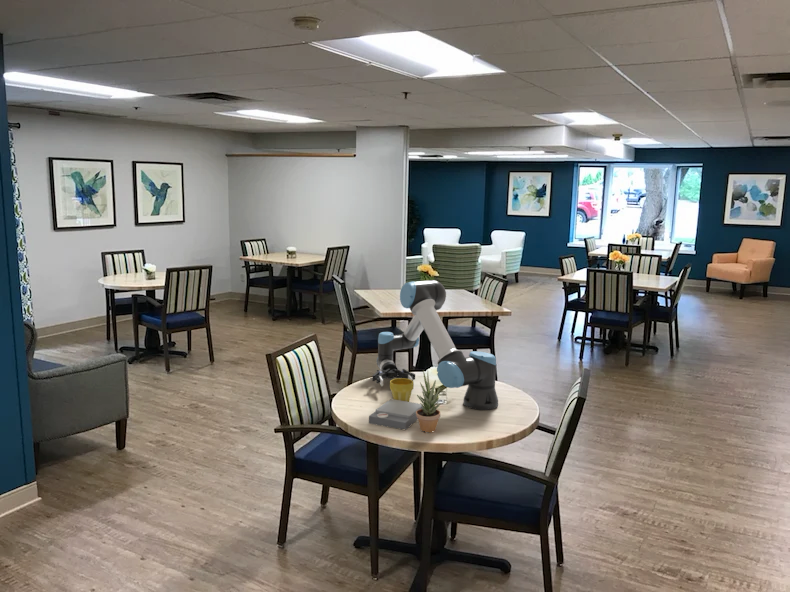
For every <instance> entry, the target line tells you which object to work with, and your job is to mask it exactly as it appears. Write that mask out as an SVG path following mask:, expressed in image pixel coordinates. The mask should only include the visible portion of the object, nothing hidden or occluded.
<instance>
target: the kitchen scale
mask: <svg viewBox="0 0 790 592" xmlns="http://www.w3.org/2000/svg"><path fill="white" fill-rule="evenodd" d="M421 404H422V403H421ZM421 404H420V403H418V402H411V401H409V402H407V401H401V400H395V399H393V398H389V400H387V401H386V402H384V403H383V404H381V405H380V406H379V407H377V408H376V409H375V411H373V412H372V413H371V414H369V415H368V424H370V425H371V424H372V425H376V424H377V426H381V425H383V426H382V427H387V426H388V427H387V428H392V427H394V428H393V429H397V428H400V429H399V430H402V429H405V430H404V431H406V430H408V428H409V426H410V425H411V424H412V425H414V423H416V421H418V420H417V419H418V418H417V416H416V411H417V410H419V409H422V408H424V407H423V406H424V405H423V406H422V405H421ZM412 425H411V426H412ZM411 426H410V427H411Z"/></svg>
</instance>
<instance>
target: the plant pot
mask: <svg viewBox="0 0 790 592" xmlns="http://www.w3.org/2000/svg"><path fill="white" fill-rule="evenodd" d="M389 389H390V391H391V394H392V399H395V400H401V401H407V402H410V400H411V399H410V398H411V395H412V391H413V390H414V380H413V381H412V380H410V379H406V378H396V377H395V378H391V380H390V381H389Z"/></svg>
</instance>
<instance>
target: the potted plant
mask: <svg viewBox="0 0 790 592" xmlns="http://www.w3.org/2000/svg"><path fill="white" fill-rule="evenodd" d="M422 373H423V379H424V380H423V381H424V385H425V387H424V385H423V384H422V383H421V382H420V381H419V383H420V387H421V389H422V391H421V393H422V396H423V397H422V396H421V395H418V394H416V396H417V398H418V399H419V400H420V403H419V404H421V405H422V406H423V407H424V408H422V409H419V410H417V411H416V416H417V418H418V420H417V421H418V424H419V430H420V431H421V430H422V431H425V432H424V433H426V432H431V433H433V432H432V431H434V432H436V429H437V426H438V423H439V419H440V417H441V411H440V410H439V409H438V408H439V407H440V406H441V404H442V403H439V401H438V400H439V399H440V397H439V392H440V390H441V388H440V387H439V388H438V390H437V391H436V392H435V389H436V388H435V387H436V382H437V380H436V379H434V381H433V384H432V387H431V385H430V379H429V378H430V377H429V376H430V375H429V370H427V376H426V375H425V370H422ZM434 392H435V393H434ZM438 403H439V404H438ZM422 431H421V432H422Z"/></svg>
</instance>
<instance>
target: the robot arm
mask: <svg viewBox="0 0 790 592" xmlns="http://www.w3.org/2000/svg"><path fill="white" fill-rule="evenodd" d="M446 298H447V292H446V289H445V286H444V285H443V284H442V283H441V282H439V281H437V280H435V279H429V280H428V279H427V280H418V281H413V280H412V281H409V282H405V283H403V285H402V287H401V288H400V293H399V300H400V304H401V306H402V307H403V308H405V309H410V312H411V313H412V315H413V317H412V318H411V320H410V321H409V323H408V325H407V326H406V328H405V329H404V330H403V332H402V333H401V334H400V333H399V334H395V335H394V333H393V332H391V331H382V332H380V333H378V338H377V347H378V349H377V358H376V365H377V367H378V368H379V370H378V369H377V370H376V371H375V373H374V374H372V375H371V376H372V377H371V379H372V382H375V381H376V383H377V384H380V386H381V387H384V379H388V380H389V379H391V380H392V379H396V378H406V379H410V380H412V381H413V382H414V380H416V373H413V372H412V371H408V370H406V369H405V368H402V370H399V369H398V367H397V365H396V364H395V361H394V351H398V350H407V349H413V348H416V347H418V345H419V343H420V338H419V336H420V335H421V334H422V332H423V331H424V332H425V334H426V336H427V338H428V340H429V342H430V344H431V346H432V348H433V350H434V352H435V354H436V356H437V358H438V359H437V360H438V361H437V368H436V372H437V378H438V380H439V382H440V383H441V384H442V385H443V386H444V387H446V388H448V389H455V388H457V389H458V388H460V387H465V386H467V389H466V391H465V394H464V396H463V405H464V406H465V407H467V408H469V409H472V410H479V411H488V410H489V411H490V410H493V409H496V408H497V406H499V399H498V393H497V391H496V376H497V375H496V374H497V358H496V356H495V355H494V354H492V353H488V352H485V351H470V352H469V354H468V357H465V355H464V353H463V352H462V350H459V349H457V348H456V345H455V344H454V342H453V340H452V338H451V336H450V334H449V332H448V331H447V329H446V326H445V324H444V323H443V321H442V319H441V318H440V315H439V313H438V311H439V310H441V308H442V307H443V306H444V304H445V301H446V300H447V299H446Z"/></svg>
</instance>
